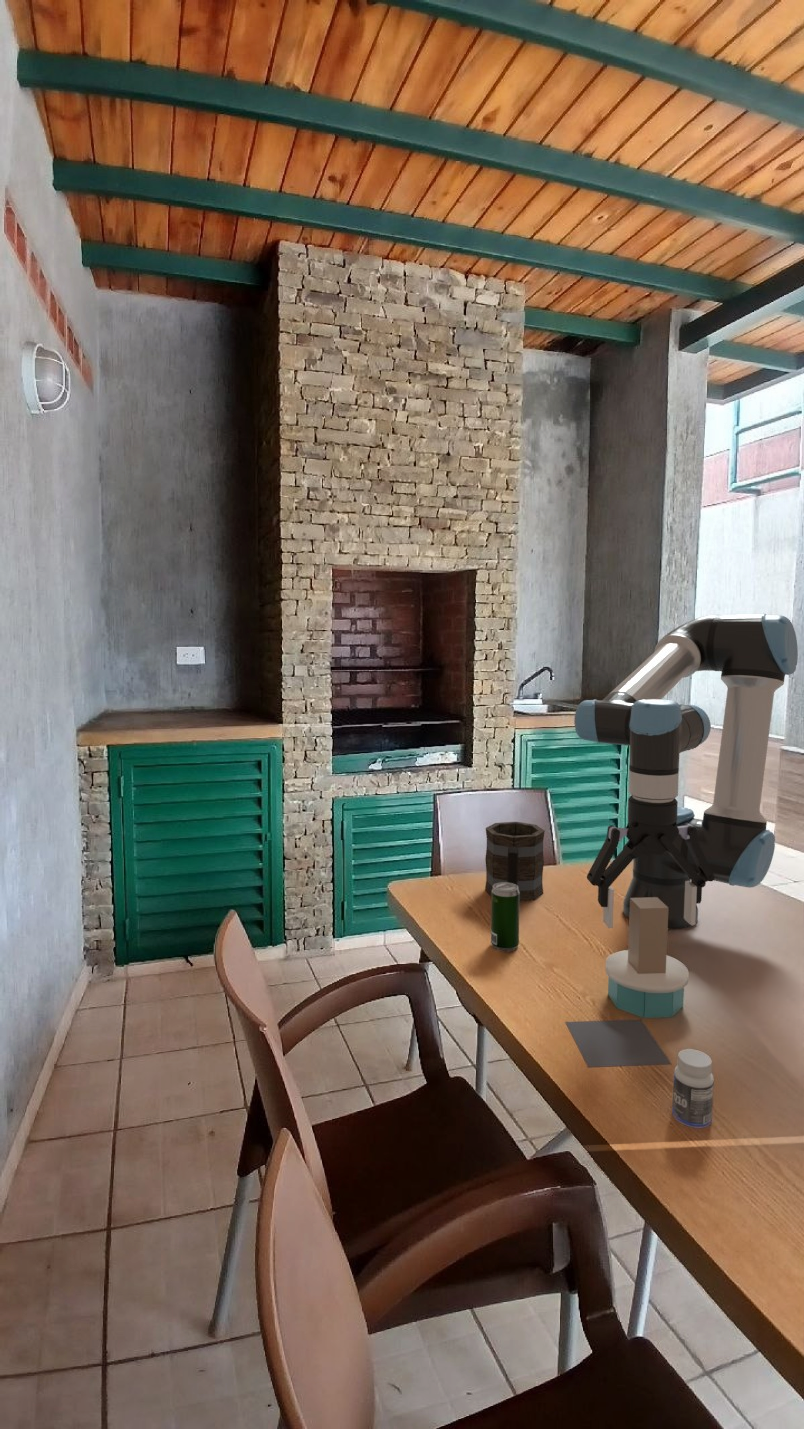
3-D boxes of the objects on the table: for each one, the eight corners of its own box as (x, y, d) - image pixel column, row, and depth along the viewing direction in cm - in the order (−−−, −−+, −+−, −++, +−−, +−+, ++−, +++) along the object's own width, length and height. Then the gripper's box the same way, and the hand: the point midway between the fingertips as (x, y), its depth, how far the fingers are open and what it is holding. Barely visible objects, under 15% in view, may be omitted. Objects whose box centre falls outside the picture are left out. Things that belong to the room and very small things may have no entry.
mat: (640, 1022, 119) (640, 1019, 119) (671, 1067, 107) (671, 1063, 107) (565, 1024, 118) (565, 1021, 118) (588, 1070, 106) (588, 1067, 106)
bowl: (664, 985, 131) (665, 958, 130) (691, 1018, 120) (693, 989, 119) (601, 987, 130) (602, 959, 129) (623, 1021, 119) (624, 991, 119)
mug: (486, 880, 184) (487, 820, 182) (543, 883, 181) (544, 822, 179) (480, 910, 164) (481, 844, 163) (543, 915, 162) (544, 847, 160)
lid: (668, 955, 131) (671, 887, 130) (702, 991, 118) (706, 917, 117) (595, 957, 130) (597, 889, 129) (621, 994, 118) (623, 919, 116)
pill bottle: (665, 1108, 98) (668, 1047, 97) (700, 1106, 98) (703, 1045, 97) (682, 1132, 93) (685, 1069, 92) (718, 1130, 94) (722, 1067, 93)
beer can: (503, 954, 143) (504, 893, 141) (485, 944, 147) (485, 885, 146) (524, 947, 146) (525, 888, 144) (506, 938, 150) (506, 880, 149)
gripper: (718, 789, 125) (712, 911, 128) (569, 793, 124) (567, 916, 127) (740, 800, 118) (734, 930, 120) (582, 805, 116) (580, 935, 119)
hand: (648, 923), depth 123 cm, fingers open, 13 cm apart
